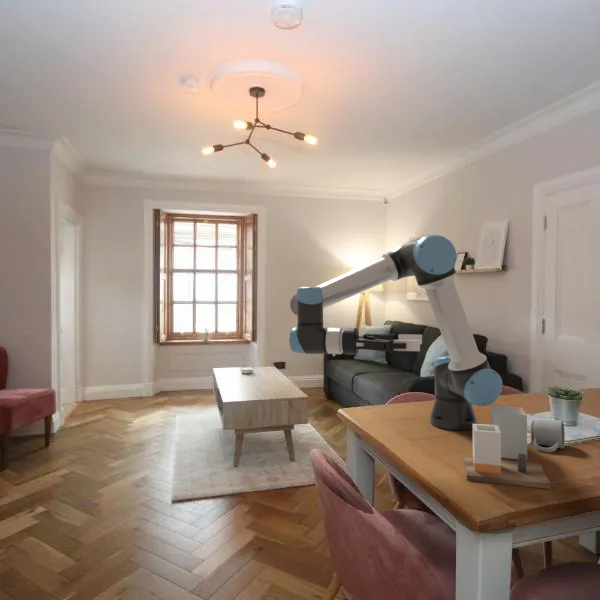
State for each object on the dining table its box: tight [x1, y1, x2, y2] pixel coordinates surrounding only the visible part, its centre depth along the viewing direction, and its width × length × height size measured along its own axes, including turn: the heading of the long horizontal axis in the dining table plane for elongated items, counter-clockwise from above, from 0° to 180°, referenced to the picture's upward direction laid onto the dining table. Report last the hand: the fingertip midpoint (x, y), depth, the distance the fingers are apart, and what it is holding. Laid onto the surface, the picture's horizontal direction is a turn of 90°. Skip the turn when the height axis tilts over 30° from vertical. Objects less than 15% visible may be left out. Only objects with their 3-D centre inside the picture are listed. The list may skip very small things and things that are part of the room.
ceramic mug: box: [530, 418, 566, 453], centre depth 126 cm, size 11×8×8 cm
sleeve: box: [472, 423, 502, 474], centre depth 110 cm, size 6×6×10 cm
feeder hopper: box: [490, 405, 528, 461], centre depth 122 cm, size 8×8×12 cm
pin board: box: [463, 453, 552, 490], centre depth 109 cm, size 12×18×5 cm, turn 72°
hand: (421, 342), depth 118 cm, fingers open, 13 cm apart
